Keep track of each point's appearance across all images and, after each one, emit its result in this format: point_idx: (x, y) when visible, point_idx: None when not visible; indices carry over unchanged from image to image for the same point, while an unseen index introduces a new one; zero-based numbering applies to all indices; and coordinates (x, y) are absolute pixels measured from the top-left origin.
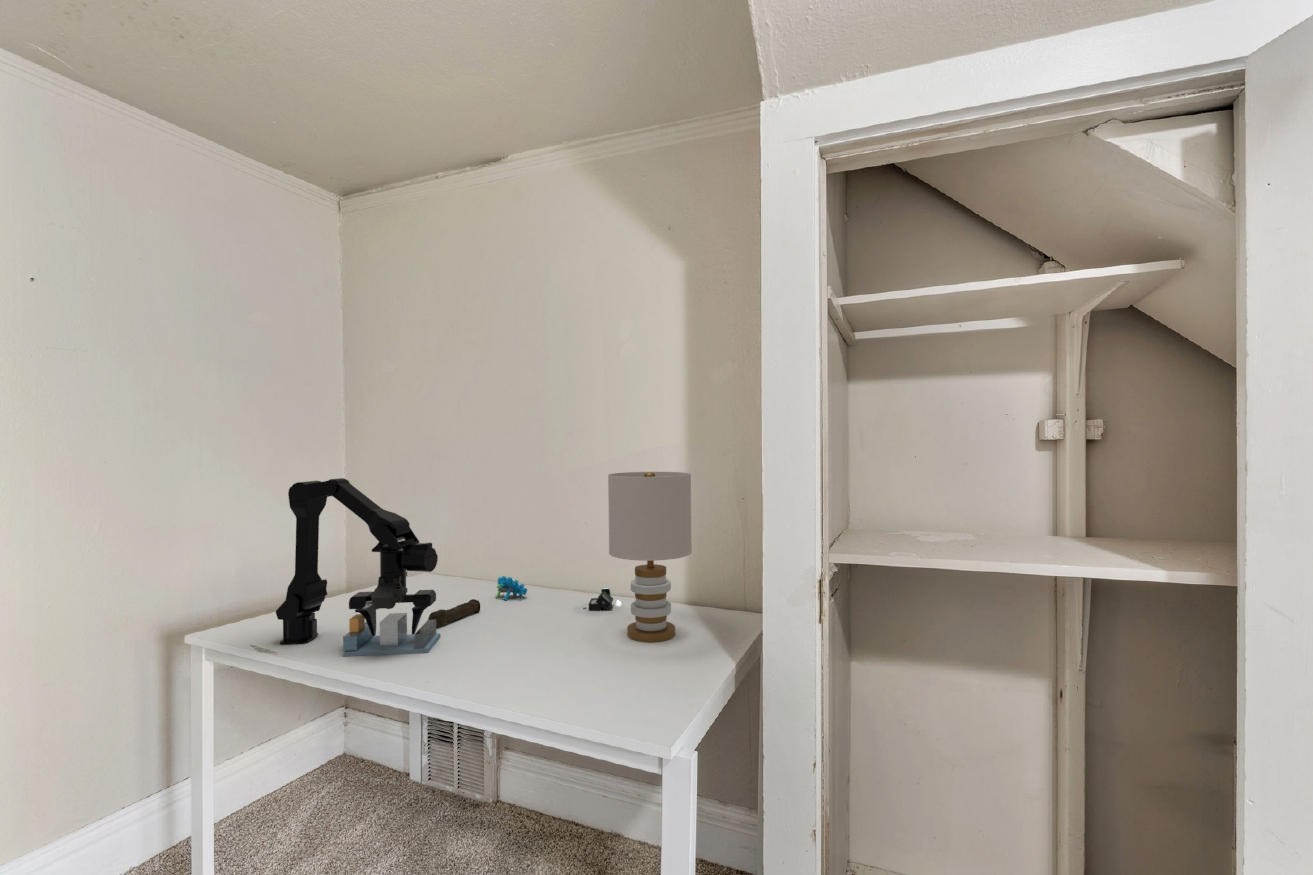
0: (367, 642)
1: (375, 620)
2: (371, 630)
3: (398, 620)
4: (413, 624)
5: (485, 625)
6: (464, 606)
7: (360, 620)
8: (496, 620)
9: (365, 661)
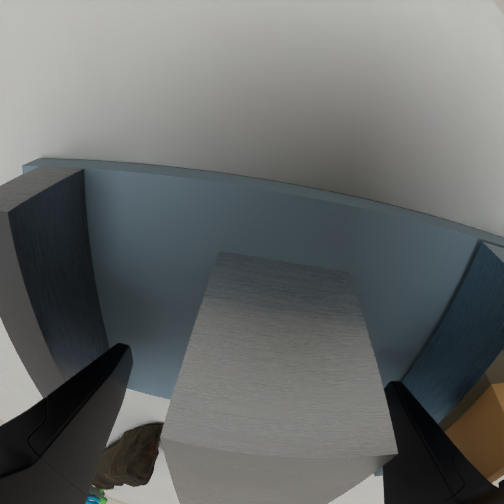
0: (407, 362)
1: (390, 477)
2: (416, 407)
3: (166, 451)
4: (80, 390)
5: (19, 384)
6: (96, 475)
7: (485, 458)
8: (20, 400)
9: (417, 89)
